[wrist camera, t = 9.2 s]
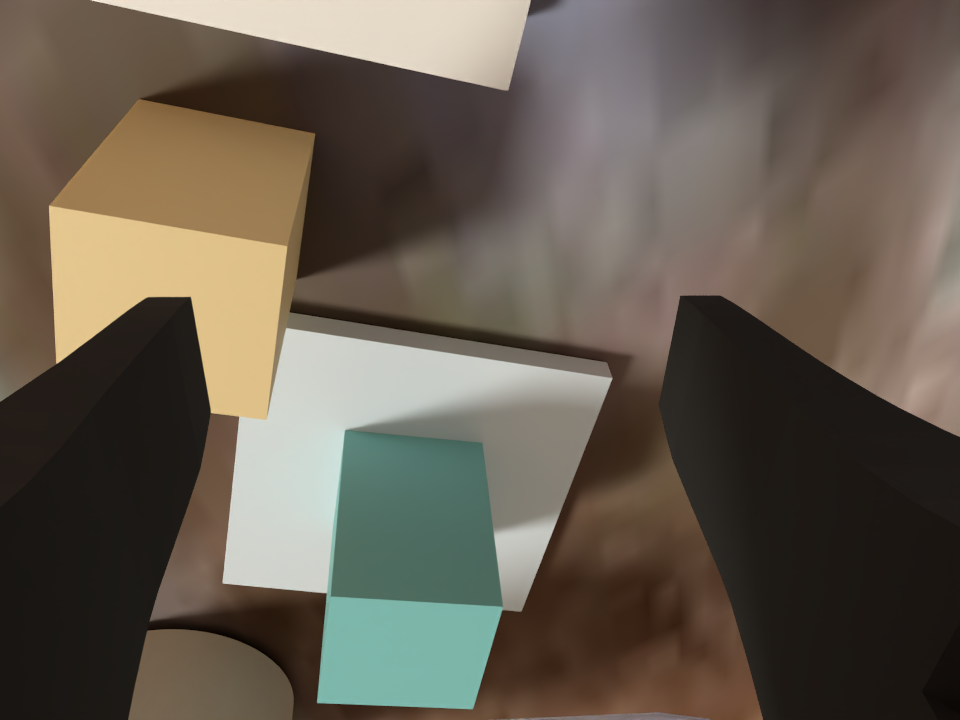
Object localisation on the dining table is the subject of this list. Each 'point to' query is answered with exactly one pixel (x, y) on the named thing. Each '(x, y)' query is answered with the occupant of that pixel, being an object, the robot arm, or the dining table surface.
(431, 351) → the mat
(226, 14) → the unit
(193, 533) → the dining table surface
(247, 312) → the ochre block
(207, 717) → the travel mug
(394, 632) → the teal block
